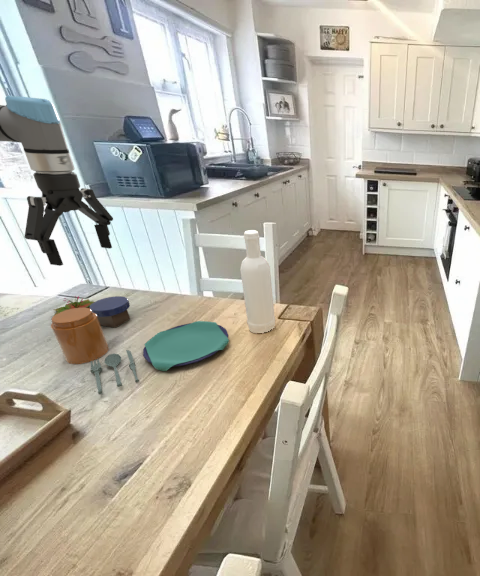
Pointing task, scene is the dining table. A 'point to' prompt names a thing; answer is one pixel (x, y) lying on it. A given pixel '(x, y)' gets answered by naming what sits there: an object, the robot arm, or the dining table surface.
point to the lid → (110, 306)
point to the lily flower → (74, 305)
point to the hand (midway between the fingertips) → (83, 255)
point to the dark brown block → (114, 319)
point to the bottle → (257, 286)
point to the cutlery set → (173, 348)
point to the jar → (79, 335)
